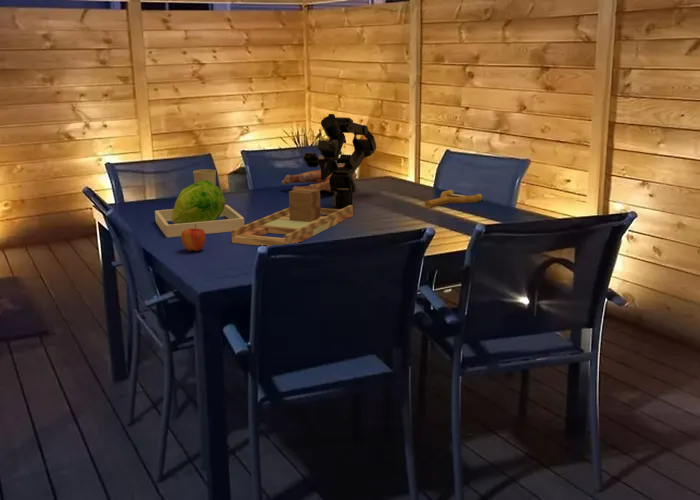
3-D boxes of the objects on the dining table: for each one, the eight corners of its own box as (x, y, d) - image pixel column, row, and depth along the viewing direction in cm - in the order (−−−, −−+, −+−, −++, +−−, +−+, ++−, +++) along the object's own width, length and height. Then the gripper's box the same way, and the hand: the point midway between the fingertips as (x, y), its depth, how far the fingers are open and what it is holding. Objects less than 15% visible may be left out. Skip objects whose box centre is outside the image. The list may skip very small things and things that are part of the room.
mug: (223, 200, 315) (221, 171, 312) (200, 203, 309) (198, 173, 306) (211, 196, 324) (210, 167, 321) (189, 199, 318) (187, 170, 315)
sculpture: (282, 205, 332) (338, 194, 350) (314, 194, 311) (372, 184, 328) (276, 178, 332) (332, 169, 349) (308, 165, 311) (366, 156, 328)
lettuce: (184, 217, 282) (157, 189, 270) (231, 191, 279) (206, 161, 267) (189, 249, 270) (160, 221, 258) (238, 222, 267) (211, 192, 255)
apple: (177, 252, 234) (175, 227, 232) (190, 247, 241) (188, 222, 239) (198, 254, 232) (196, 228, 230) (211, 248, 239) (209, 223, 237)
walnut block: (300, 215, 275) (299, 187, 272) (320, 217, 272) (319, 189, 269) (289, 220, 268) (288, 191, 265) (310, 222, 265) (309, 193, 262)
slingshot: (409, 198, 302) (448, 189, 319) (409, 205, 302) (447, 196, 320) (446, 203, 290) (483, 194, 308) (446, 211, 291) (483, 201, 308)
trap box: (304, 211, 291) (303, 201, 290) (352, 215, 283) (352, 205, 282) (232, 242, 246) (231, 230, 245) (287, 248, 238) (287, 235, 237)
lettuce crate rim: (227, 215, 286) (227, 204, 285) (245, 230, 263) (244, 218, 262) (155, 221, 277) (154, 210, 276) (166, 237, 253) (165, 225, 252)
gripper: (304, 130, 284) (291, 164, 277) (351, 132, 277) (339, 167, 270) (314, 149, 293) (302, 183, 286) (360, 151, 286) (348, 185, 279)
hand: (322, 179), depth 280 cm, fingers closed
